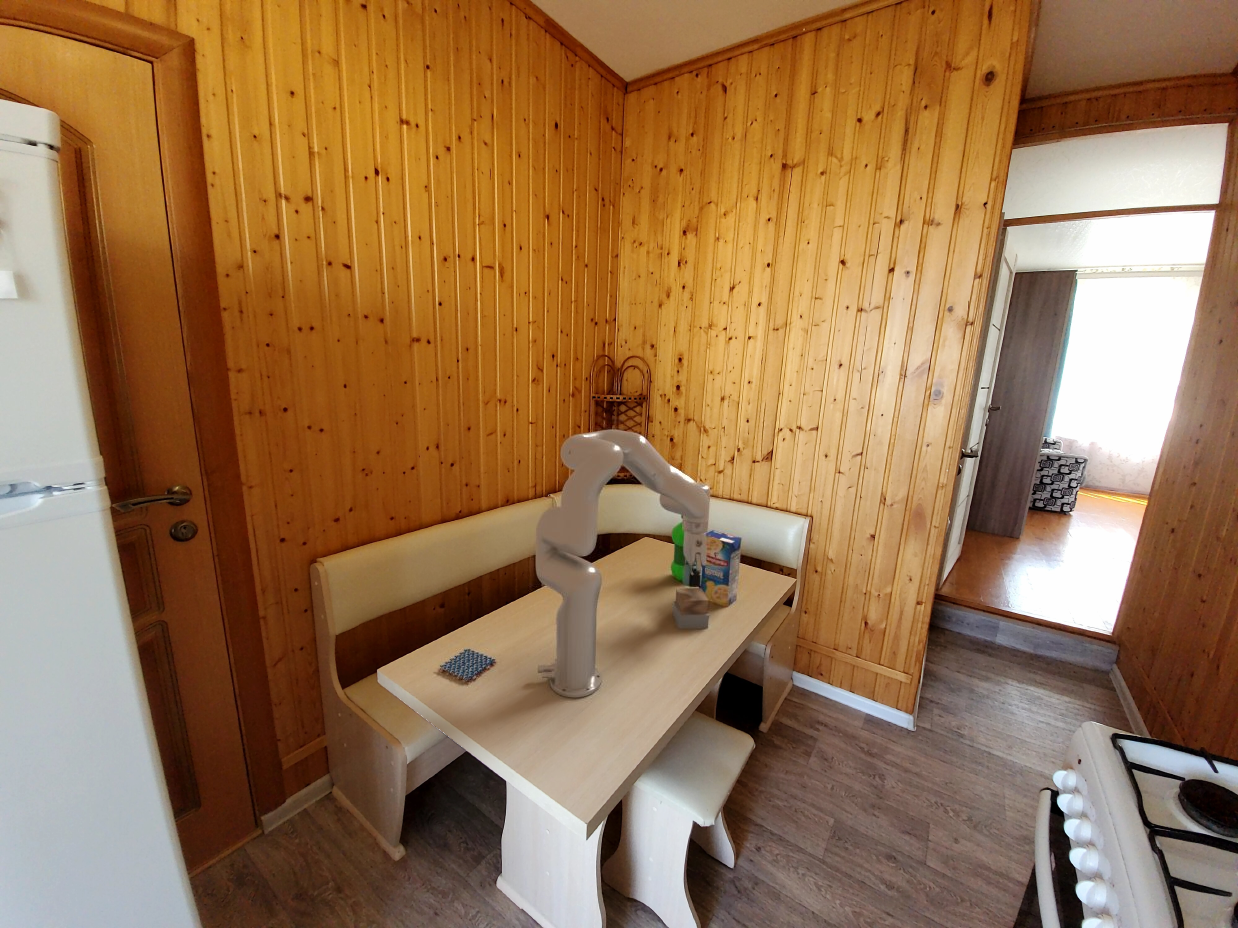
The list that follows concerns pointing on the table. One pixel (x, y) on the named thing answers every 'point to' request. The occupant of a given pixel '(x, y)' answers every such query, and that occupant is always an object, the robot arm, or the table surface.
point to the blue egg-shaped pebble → (686, 574)
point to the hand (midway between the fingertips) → (691, 581)
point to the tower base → (689, 619)
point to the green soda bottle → (678, 551)
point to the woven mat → (468, 665)
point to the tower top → (691, 601)
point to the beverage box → (721, 568)
